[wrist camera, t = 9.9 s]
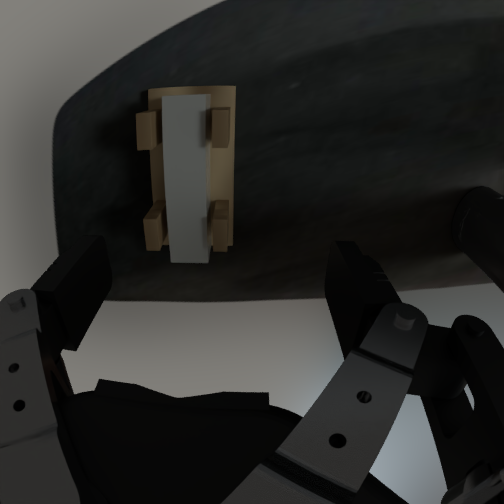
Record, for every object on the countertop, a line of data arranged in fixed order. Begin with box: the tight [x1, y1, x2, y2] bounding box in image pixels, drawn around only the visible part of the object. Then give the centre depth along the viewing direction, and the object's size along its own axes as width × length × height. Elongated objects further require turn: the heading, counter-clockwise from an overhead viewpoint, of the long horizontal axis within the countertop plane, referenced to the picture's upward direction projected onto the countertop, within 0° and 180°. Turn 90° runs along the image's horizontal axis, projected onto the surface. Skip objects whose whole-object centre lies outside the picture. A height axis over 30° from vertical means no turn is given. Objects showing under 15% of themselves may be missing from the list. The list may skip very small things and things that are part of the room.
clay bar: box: [162, 94, 212, 263], centre depth 28 cm, size 4×15×4 cm, turn 178°
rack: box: [136, 86, 236, 252], centre depth 28 cm, size 8×16×6 cm, turn 178°
